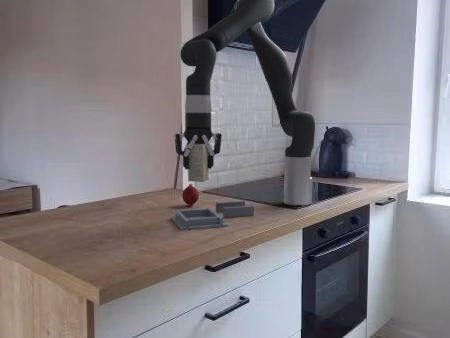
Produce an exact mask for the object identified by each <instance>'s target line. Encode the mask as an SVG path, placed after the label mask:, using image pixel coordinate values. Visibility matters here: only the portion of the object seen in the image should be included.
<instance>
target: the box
mask: <svg viewBox="0 0 450 338" xmlns="http://www.w3.org/2000/svg"><path fill="white" fill-rule="evenodd" d="M188 145H189V144H188ZM188 157H189V169H187V182H193V183H194V182H195V183H206V182H207V181H210V179H209V168H208V150H207V147H206V144H194V145H193V147H192V149H191V150H190V152H189V154H188Z"/></svg>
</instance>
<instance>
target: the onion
mask: <svg viewBox="0 0 450 338" xmlns="http://www.w3.org/2000/svg"><path fill="white" fill-rule="evenodd" d="M199 194H200V193H199V191H198V190H197V188H196V187H194V186H193V183H189V184H188V186H186V187H185V188H184V189H183V191H182V200H183V202H184V203H185V204H186V205H188V206H189V207H192V206H193V205H194V204H196V202H198V200H199V198H200V195H199Z"/></svg>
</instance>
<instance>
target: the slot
mask: <svg viewBox="0 0 450 338" xmlns="http://www.w3.org/2000/svg"><path fill="white" fill-rule="evenodd" d="M215 212H216V213H222V218H223V219H226V218H238V217H240V218H241V217H253V216H255V206H254V205H246V201H245V200H236V201H222V202H221V201H220V202H219V201H218V202H215Z"/></svg>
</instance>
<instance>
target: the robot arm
mask: <svg viewBox="0 0 450 338" xmlns="http://www.w3.org/2000/svg"><path fill="white" fill-rule="evenodd" d="M274 10H275V1H274V0H238V1H237V5H236V11H234V12H233V13H231V14H230V15H227V16H226V17H224V18H223V19H221V20H220V21H218V22H216V23H215V24H214V25H212V26H210V27H209V29H207V30H205V32H203V33H200V34H198V35H196V36H195V37H192V38H191V39H189V40H187V41H186V42H184V44H183V45H182V47H181V49H180V52H179V53H180V60H181V62H182V63H183V64H184V65H185V66H187V67H193V68H194V67H195V68H194V71H193V73H191V74H189V75H187V77H186V79H185V103H184V108H185V109H184V110H185V111H184V113H185V114H184V116H185V117H184V118H185V119H184V121H185V122H184V123H185V124H184V128H185V129H184V132H182V133H181V132H180V133H174V142H175V143H174V145H175V153H176V154H177V155H179V156H182V167H183V168H184V169H185V170H188V169H189V157H188V154H189V152H190V150H191V149H192V147H193V145H194V144H206V147H207V150H208V170H211V169H212V168H213V167H214V165H215V164H214V163H215V162H214V160H215V159H214V157H215V156H216V155H219V154H220V153H221V144H222V136H223V135H222V133H219V132H216V133H215V132H214V133H213V131H212V101H211V82H212V81H211V80H212V77H213V73H214V69H215V64H216V60H217V53H219V52H221V51H222V50H224V49H225V48H226V47H227V46H228V45H230V44H232V43H233V41H235V39H237V38H238V37H239V36H241V35H242V34H243V33H244V32H245V33H246V34H247V36H248V39H249V41H250V43H251V45H252V47H253V50H254V52H255V55H256V57H257V59H258V62H259V65H260V68H261V71H262V73H263V76H264V78H265V81H266V83H267V85H268V88H269V91H270V93H271V96H272V100H273V102H274V104H275V108H276V111H277V117H278V119H279V122H280V126H281V129H282V130H283V132H284V134H285V135H286V136H288V137H290V138H292V139H291V144H290V145H289V146H288V147H286V148H285V150H284V175H283V176H284V180H283V181H284V182H283V183H284V184H283V186H284V187H283V204H285V205H289V206H297V205H301V206H307V205H312V202H313V177H311V165H312V164H311V163H312V151H313V149H314V144H315V134H316V122H315V118H314V115H312V113H310V112H309V111H302V110H301V111H298V109H297V107H296V105H295V102H294V99H293V93H292V92H293V91H292V90H293V73H292V72H293V71H292V68H291V65H290V63H289V60H288V58H287V55H286V54H285V52H284V51H283V50H282V49H281V48H280V46H278V45H277V44H276V43H275V42H274V41H273V40H271V39H270V38H269V36H268V35H267V34H266V32H265V29H264V27H263V26H262V23H261V22H264V21H265V20H267V19H269V18H270V17H271V16H272V14H273V13H274ZM184 138H185V140H186V141H187V142H186V144H185V147H184V149H183V150H182V141H183V139H184ZM211 139H213V141H214V145H213V149H212V146H211V143H210V140H211ZM188 144H189V145H188Z"/></svg>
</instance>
